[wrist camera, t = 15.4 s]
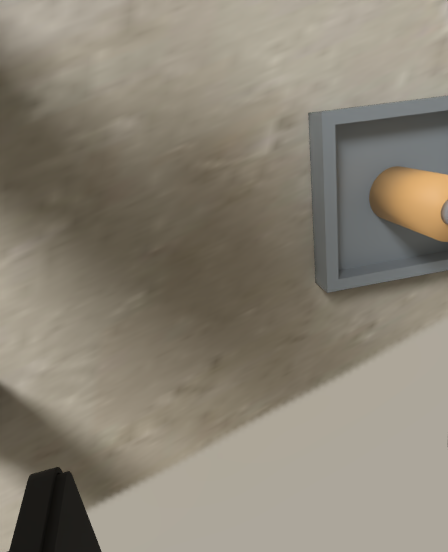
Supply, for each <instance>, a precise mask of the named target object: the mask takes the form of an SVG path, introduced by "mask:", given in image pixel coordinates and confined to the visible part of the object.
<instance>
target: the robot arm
mask: <svg viewBox="0 0 448 552" xmlns="http://www.w3.org/2000/svg"><path fill="white" fill-rule="evenodd" d="M8 552H101V549H100V546H99V544H98V541H97V539H96V536H95V533H94V531H93V528H92V526H91V523H90V520H89V518H88V515H87V513H86V510H85V507H84V505H83V502H82V500H81V497H80V494H79V492H78V489H77V487H76V484H75V481H74V479H73V476H72V474H71V472H70V471H68V472H64V473H63V472H62V470H61V469H60V468H59V467H56V468H52V469H49V470H45V471H42V472H38V473H34V474H31V475H30V476H29V479H28V481H27V485H26V489H25V493H24V497H23V500H22V504H21V508H20V512H19V516H18V520H17V523H16V527H15V531H14V535H13V539H12V543H11V546H10V550H9V551H8Z"/></svg>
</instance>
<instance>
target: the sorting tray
mask: <svg viewBox="0 0 448 552" xmlns="http://www.w3.org/2000/svg"><path fill="white" fill-rule="evenodd" d="M309 137H310V161H311V185H312V209H313V233H314V256H315V280H316V283H317V284H318V285H319V286H320V287H321V288H323V289H324V290H325V291H326V292H327V293H329V292H334V291H339V290H345V289H350V288H355V287H361V286H366V285H371V284H377V283H382V282H387V281H393V280H398V279H403V278H409V277H414V276H419V275H425V274H430V273H435V272H441V271H446V270H448V242H442V241H438V240H436V239H433V238H431V237H428V236H426V235H423V234H421V233H418V232H415V231H413V230H410V229H408V228H405V227H403V226H400V225H398V224H395V223H392V222H390V221H387V220H385V219H382V218H380V217H378V216H377V215H376V214H375V213H374V212H373V210H372V209H371V206H370V201H369V195H370V190H371V187H372V184H373V182H374V181H375V179H376V178H377V177H378V175H379V174H380V173H382V172H383V171H384V170H386V169H388V168H391V167H395V166H401V167H407V168H412V169H418V170H424V171H430V172H435V173H441V174H447V175H448V96H441V97H433V98H424V99H416V100H408V101H400V102H392V103H384V104H376V105H368V106H360V107H352V108H344V109H336V110H328V111H320V112H312V113H309Z"/></svg>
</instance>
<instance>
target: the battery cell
mask: <svg viewBox="0 0 448 552" xmlns="http://www.w3.org/2000/svg"><path fill="white" fill-rule="evenodd" d="M369 201H370V206H371V209H372V210H373V212H374V213H375V214H376V215H377V216H378V217H380V218H382V219H385V220H387V221H390V222H392V223H395V224H398V225H400V226H403V227H405V228H408V229H410V230H413V231H415V232H418V233H421V234H423V235H426V236H428V237H431V238H433V239H436V240H438V241H442V242H448V175H447V174H441V173H435V172H430V171H424V170H418V169H412V168H407V167H401V166H395V167H391V168H388V169H386V170H384V171H383V172H382V173H380V174H379V175H378V177H377V178H376V179H375V181H374V182H373V184H372V187H371V190H370V195H369Z"/></svg>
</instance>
